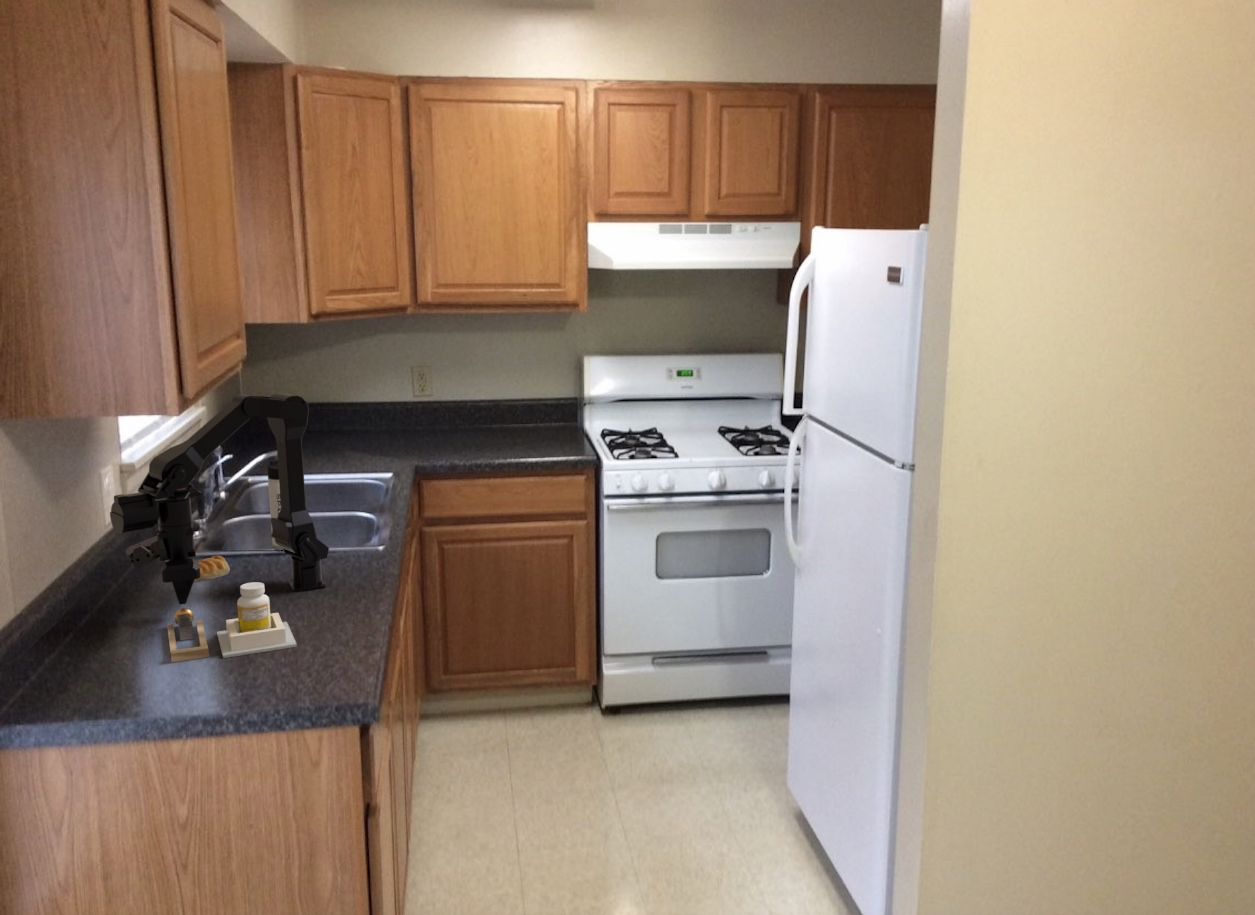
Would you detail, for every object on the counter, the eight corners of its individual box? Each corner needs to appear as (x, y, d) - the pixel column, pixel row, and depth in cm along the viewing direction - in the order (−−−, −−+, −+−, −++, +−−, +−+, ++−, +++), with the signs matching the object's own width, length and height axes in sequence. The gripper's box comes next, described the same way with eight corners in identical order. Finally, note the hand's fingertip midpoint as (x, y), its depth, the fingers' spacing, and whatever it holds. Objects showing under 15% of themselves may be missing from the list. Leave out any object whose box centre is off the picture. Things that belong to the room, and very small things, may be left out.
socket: (217, 634, 184) (215, 618, 183) (286, 624, 189) (285, 608, 189) (223, 658, 174) (221, 641, 173) (296, 646, 179) (295, 630, 178)
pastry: (195, 586, 211) (193, 568, 210) (173, 581, 214) (172, 563, 213) (233, 574, 219) (231, 556, 218) (212, 569, 222) (210, 552, 221)
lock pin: (175, 626, 188) (173, 609, 187) (193, 623, 189) (192, 607, 188) (177, 640, 181) (175, 623, 180) (196, 638, 182) (195, 620, 182)
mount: (167, 630, 186) (166, 622, 186) (202, 625, 188) (201, 617, 188) (171, 662, 172) (170, 654, 171) (208, 656, 174) (208, 648, 174)
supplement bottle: (265, 643, 179) (261, 590, 177) (234, 643, 179) (230, 590, 177) (276, 631, 184) (272, 580, 182) (246, 631, 184) (242, 580, 182)
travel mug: (290, 541, 242) (285, 458, 238) (306, 546, 237) (301, 462, 233) (266, 547, 237) (260, 462, 233) (282, 552, 233) (276, 466, 229)
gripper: (126, 515, 193) (134, 594, 196) (127, 541, 177) (135, 627, 180) (190, 509, 198) (197, 586, 201) (196, 533, 182) (203, 617, 185)
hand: (182, 603), depth 192 cm, fingers closed
